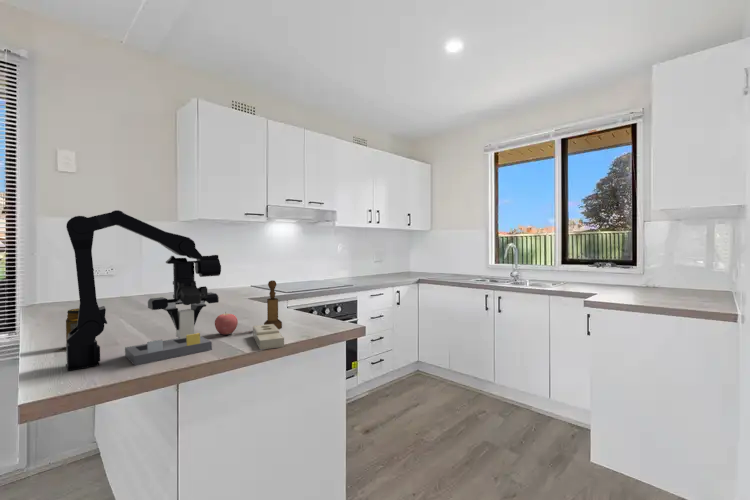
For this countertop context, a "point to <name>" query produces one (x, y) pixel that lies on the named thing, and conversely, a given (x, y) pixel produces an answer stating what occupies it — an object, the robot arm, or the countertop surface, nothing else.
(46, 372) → the countertop surface
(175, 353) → the socket plate
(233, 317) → the apple
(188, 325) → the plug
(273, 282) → the wooden pepper mill
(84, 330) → the robot arm
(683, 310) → the countertop surface
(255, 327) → the electrical outlet
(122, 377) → the countertop surface
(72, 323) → the condiment
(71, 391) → the countertop surface
